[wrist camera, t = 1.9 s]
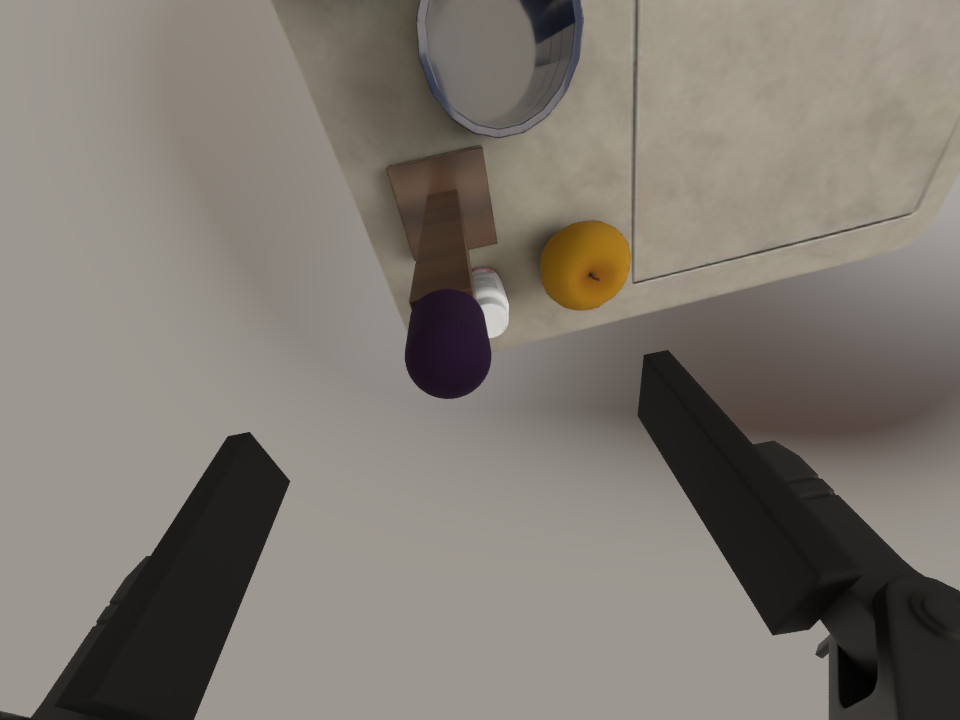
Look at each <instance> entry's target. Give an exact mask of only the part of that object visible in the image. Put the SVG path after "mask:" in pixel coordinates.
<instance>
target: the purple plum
mask: <svg viewBox="0 0 960 720" xmlns="http://www.w3.org/2000/svg"><path fill="white" fill-rule="evenodd" d="M405 362H406V367H407V370H408V373H409V375H410V377H411V378H412V380H413V381H414V383H415V384H416V385H417V386H418V387H419V388H420V389H421V390H423V391H424V392H426V393H427V394H429V395H431V396H434V397H438V398H443V399H453V398H459V397H462V396H465V395H467V394H469V393H471V392H472V391H474V390H475V389H476V388H477V387H478V386H479V385H480V384H481V383H482V382H483V380H484V379H485V377H486V375H487V373H488V371H489V368H490V364H491V347H490V342H489V337H488V332H487V326H486V321H485V316H484V312H483V310H482V308H481V306H480V305H479V303H478V302H477V301H476V300H475V299H474V298H473V297H471V296H470V295H468V294H466V293H464V292H462V291H459V290H454V289H441V290H436V291H433V292H431V293H428V294H427V295H425V296H424V297H422V298H421V299H420V300H419V301H418V302H417V303H416V305H415V306H414V308H413V310H412V312H411V316H410V322H409V329H408V335H407V342H406V348H405Z"/></svg>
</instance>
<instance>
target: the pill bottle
mask: <svg viewBox="0 0 960 720" xmlns="http://www.w3.org/2000/svg"><path fill="white" fill-rule="evenodd" d="M472 274H473V280H474V286H475V292H476V298H477V302H478V303H479V305H480V306H481V308H482V310H483V312H484V316H485V321H486V326H487V332H488V337H489V338H494V337H496V336H499V335H500V334H502V333H503V332H504V331H505V329H506V328H507V326H508V322H509V317H508V312H509V304H508V300H507V297H506V293H505V290H504V287H503V284H502V281H501V278H500V277H499V275H498V274H497V273H496V272H495V271H494V270H492V269H489V268H486V267H479V268H475V269H473V270H472Z"/></svg>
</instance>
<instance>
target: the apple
mask: <svg viewBox="0 0 960 720" xmlns="http://www.w3.org/2000/svg"><path fill="white" fill-rule="evenodd" d="M630 261H631V254H630V249H629V245H628V242H627V241H626V239H625V238H624V237H623V235H622V234H621V233H620V232H619V231H618V230H617V229H616V228H615V227H612V226H610V225H607V224H605V223H603V222H600V221H583V222H578V223H573V224H571V225H569V226H567V227H565V228H564V229H562V230H561V231H559V232H558V233H556V234H555V235H554V236H553V237H552V238H551V239H550V240H549V242H548V243H547V244H546V246H545V248H544V250H543V252H542V255H541V260H540V267H541V277H542V284H543V286H544V288H545V290H546V292H547V294H548V295H549V296H550V298H551V299H553V300H554V301H555V302H557V303H558V304H560V305H561V306H563V307H564V308H568V309H572V310H590V309H594V308H598V307H600V306H601V305H603V304H604V303H605V302H607V301H608V300H610V299H611V298H613V297H614V296H615V295H616V294H617V293H618V292H619V291H620V290H621V289H622V287H623V285H624V283H625V282H626V279H627V276H628V273H629V270H630Z"/></svg>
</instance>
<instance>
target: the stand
mask: <svg viewBox="0 0 960 720" xmlns="http://www.w3.org/2000/svg"><path fill="white" fill-rule="evenodd" d="M387 172H388V176H389V179H390V182H391V186H392V189H393V192H394V195H395V199H396V202H397V205H398V209H399V212H400V215H401V218H402V222H403V225H404V228H405V232H406V235H407V238H408V241H409V245H410V248H411V251H412V255H413V258H414V261H416V264H415V270H414V276H413V282H412V288H411V294H410V300H409V303H410V306H411V309H412V310H413V308H414V306H415V305H416V303H417V302H418V301H419V300H420V299H421V298H422V297H424V296H425V295H427V294H428V293H431V292H433V291H436V290H441V289H454V290H459V291H462V292H464V293H466V294H468V295H470V296H471V297H473V298H474V299H475V300H476V301H477V298H476V292H475V286H474V280H473V274H472V268H471V262H470V256H469V249H474V248H478V247H483V246H488V245H493V244H497V238H496V232H495V225H494V219H493V213H492V206H491V200H490V194H489V187H488V181H487V175H486V168H485V162H484V156H483V149H482V146H481V145H479V146H475V147H471V148H466V149H462V150H457V151H453V152H448V153H444V154H439V155H435V156H431V157H426V158H422V159H417V160H413V161H408V162H404V163H399V164H395V165H390V166H388V167H387Z"/></svg>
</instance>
